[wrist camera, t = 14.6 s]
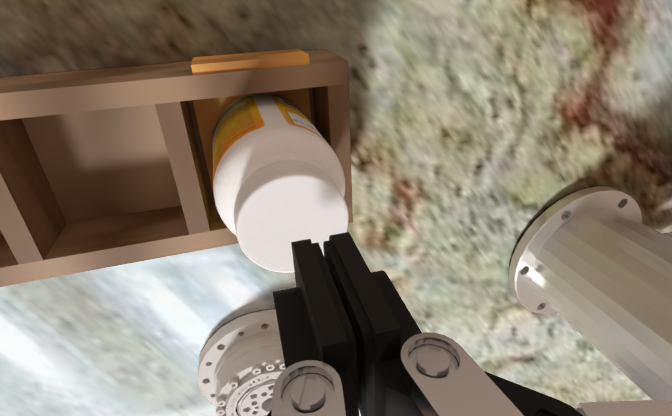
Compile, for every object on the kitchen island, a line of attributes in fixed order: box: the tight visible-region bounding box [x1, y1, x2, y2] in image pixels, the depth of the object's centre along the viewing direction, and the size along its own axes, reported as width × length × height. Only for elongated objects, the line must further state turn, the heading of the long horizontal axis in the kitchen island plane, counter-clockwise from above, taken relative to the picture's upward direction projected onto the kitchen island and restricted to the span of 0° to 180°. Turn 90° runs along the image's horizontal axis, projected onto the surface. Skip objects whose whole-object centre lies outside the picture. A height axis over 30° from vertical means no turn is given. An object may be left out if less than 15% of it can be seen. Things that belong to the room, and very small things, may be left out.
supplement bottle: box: [213, 93, 349, 273], centre depth 18 cm, size 5×5×10 cm
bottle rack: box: [0, 49, 353, 287], centre depth 19 cm, size 24×9×4 cm, turn 93°
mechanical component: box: [198, 309, 285, 416], centre depth 30 cm, size 10×4×10 cm
